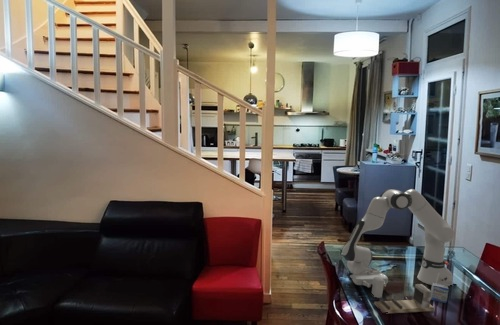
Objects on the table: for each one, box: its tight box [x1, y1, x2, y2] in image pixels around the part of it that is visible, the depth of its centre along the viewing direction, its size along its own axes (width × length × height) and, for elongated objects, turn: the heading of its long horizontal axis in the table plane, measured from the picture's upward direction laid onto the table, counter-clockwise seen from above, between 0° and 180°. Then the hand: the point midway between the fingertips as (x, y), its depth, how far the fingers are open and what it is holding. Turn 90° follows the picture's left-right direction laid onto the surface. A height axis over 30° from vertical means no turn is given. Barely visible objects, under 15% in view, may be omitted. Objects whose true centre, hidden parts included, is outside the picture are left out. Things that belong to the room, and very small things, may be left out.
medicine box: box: [430, 283, 450, 304], centre depth 203 cm, size 8×4×9 cm, turn 69°
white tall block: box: [371, 277, 384, 299], centre depth 202 cm, size 4×4×10 cm
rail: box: [373, 283, 435, 314], centre depth 191 cm, size 30×8×11 cm, turn 103°
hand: (377, 285), depth 202 cm, fingers open, 8 cm apart
